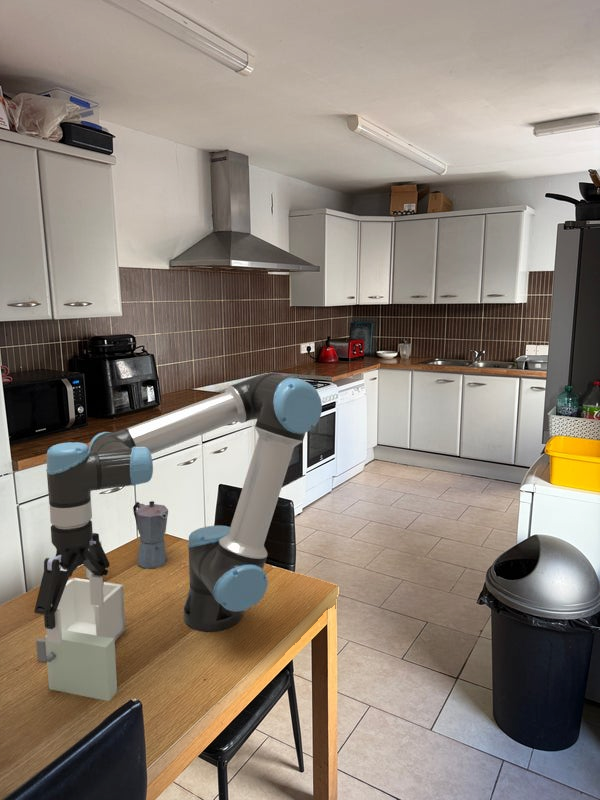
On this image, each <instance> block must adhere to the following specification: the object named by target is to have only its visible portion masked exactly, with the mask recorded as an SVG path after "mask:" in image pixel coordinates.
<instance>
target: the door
mask: <svg viewBox="0 0 600 800" xmlns="http://www.w3.org/2000/svg"><path fill="white" fill-rule="evenodd" d="M61 632H62V642H61V643H60V644H59V643H54V642H49V641H47V634H46V635H45V636H44V639H45V644H46V661H47V662H46V667H47V677H48V678H47V679H48V689H49V690H51V691H58V692H62V693H67V694H71V695H77V696H80V697H81V696H82V697H87V698H92V699H95V700H101V701H106V702H110V701H111V700H112V698H113V697H114V696H115V694H116V693H117V692H118V684H117V683H118V682H117V680H118V679H117V663H116V662H117V661H116V647H115V646H116V643H115V642H116V641H115V642H114V638H108V637H102V636H96V635H91V634H85V633H79V632H73V631H68V630H62V629H61Z"/></svg>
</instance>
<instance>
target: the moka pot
mask: <svg viewBox="0 0 600 800" xmlns="http://www.w3.org/2000/svg"><path fill="white" fill-rule="evenodd" d="M132 511H133V515H134V518H135V521H136V522H135V523H136V527H137V528H136V529H137V531H138V533H139V534H138V535H139V538H140V540H139V546H138V556H137V565H138V566H139V567H141V568H143V569H148V568H150V569H151V568H154V569H157V568H161V567H163V566H165V565H166V564H167V562H168V555H167V550H166V542H165V534H166V531H167V525H168V524H167V523H168V516H169V510H168V508H167V506H166V505H163V504H157V503H155V501H154V500H151V501H149V504H144V503H140V502H139V501H136V502H135V504H134V505H133V507H132Z"/></svg>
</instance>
